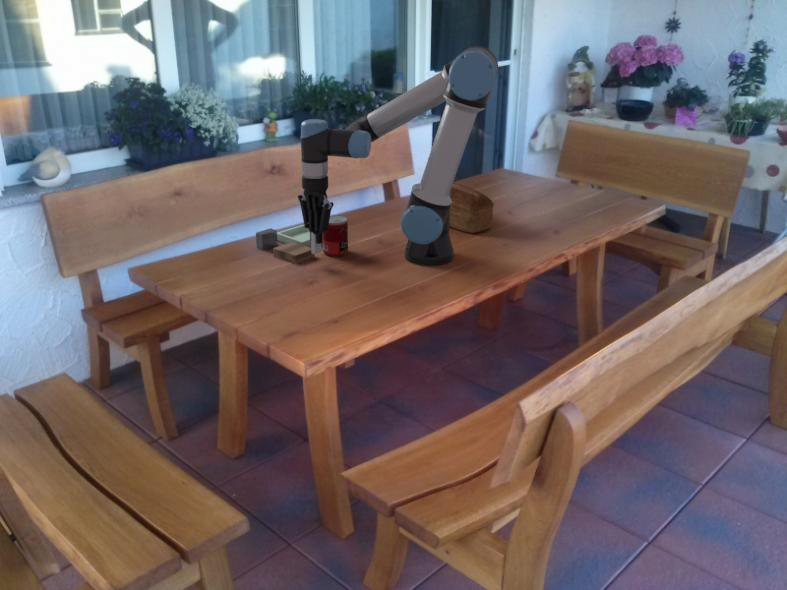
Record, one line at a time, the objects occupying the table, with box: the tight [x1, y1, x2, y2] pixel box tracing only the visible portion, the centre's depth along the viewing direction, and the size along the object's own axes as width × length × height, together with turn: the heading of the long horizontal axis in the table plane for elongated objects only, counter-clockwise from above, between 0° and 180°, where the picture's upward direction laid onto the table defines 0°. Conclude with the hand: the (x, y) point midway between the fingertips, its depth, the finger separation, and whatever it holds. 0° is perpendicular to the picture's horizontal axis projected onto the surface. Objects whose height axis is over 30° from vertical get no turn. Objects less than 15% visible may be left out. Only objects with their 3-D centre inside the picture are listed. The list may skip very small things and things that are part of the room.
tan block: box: [272, 242, 316, 265], centre depth 232 cm, size 10×8×3 cm
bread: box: [449, 182, 495, 234], centre depth 261 cm, size 12×31×14 cm, turn 43°
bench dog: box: [255, 228, 279, 251], centre depth 239 cm, size 3×6×5 cm, turn 138°
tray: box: [277, 223, 323, 248], centre depth 245 cm, size 13×13×2 cm
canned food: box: [322, 215, 349, 258], centre depth 233 cm, size 8×8×11 cm
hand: (316, 252), depth 224 cm, fingers closed
